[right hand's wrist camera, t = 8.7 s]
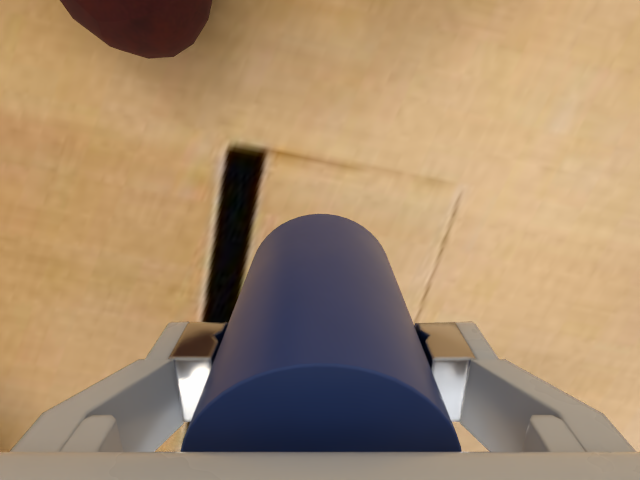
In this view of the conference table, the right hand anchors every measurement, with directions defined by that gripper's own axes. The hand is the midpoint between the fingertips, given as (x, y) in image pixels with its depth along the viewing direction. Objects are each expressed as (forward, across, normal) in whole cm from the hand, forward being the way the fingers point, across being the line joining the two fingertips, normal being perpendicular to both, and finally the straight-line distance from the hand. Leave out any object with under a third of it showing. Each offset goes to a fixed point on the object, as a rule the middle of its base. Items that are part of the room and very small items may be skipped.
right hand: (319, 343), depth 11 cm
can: (+4, 0, 0) cm, 4 cm away
